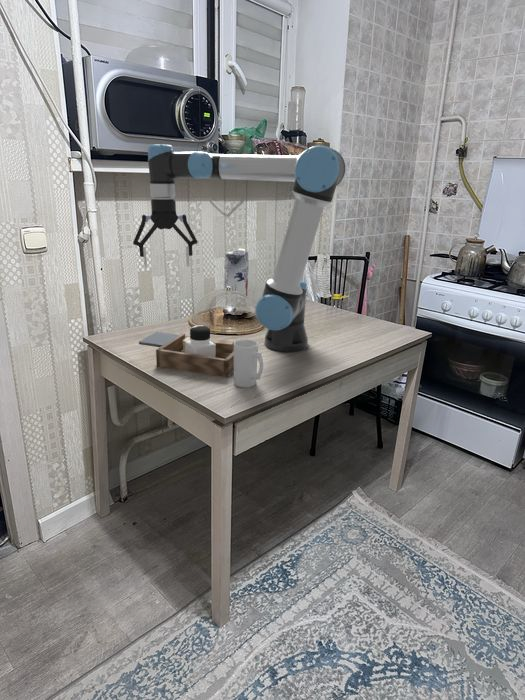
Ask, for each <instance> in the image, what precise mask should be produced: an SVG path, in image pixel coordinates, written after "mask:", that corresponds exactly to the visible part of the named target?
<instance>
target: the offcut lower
mask: <svg viewBox="0 0 525 700" xmlns="http://www.w3.org/2000/svg"><path fill="white" fill-rule="evenodd" d="M230 354H231V353H222V352H216V358H222V359H226V358H227V357H228V356H229V355H230Z"/></svg>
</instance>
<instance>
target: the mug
mask: <svg viewBox="0 0 525 700" xmlns="http://www.w3.org/2000/svg"><path fill="white" fill-rule="evenodd" d="M258 364H259V367H258ZM258 368H259V369H258ZM257 371H258V372H257ZM263 371H264V359H263V356H262V352H261V351H259V343H258V341H256V340H254V339H252V340H251V339H237V340H236V341H235V340H234V371H233V383H234V385H235V386H237V387H238V388H243V389H244V388H251V387H252V388H253V387H254V386H255V385H256V384H257V381H258V380H260V379H261V376H262V374H263Z"/></svg>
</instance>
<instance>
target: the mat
mask: <svg viewBox="0 0 525 700" xmlns="http://www.w3.org/2000/svg"><path fill="white" fill-rule="evenodd" d="M179 335H180V334H176V333H175V334H174V333H168V332H161V331H155V332H153V333H152V334H150V335H148V336H147V337H145V338H143V339H141V340H139V341H138V344H142V345H147V346H154V347H159V348H160V347H161V346H163V345H165V344H166V343H168V342H169V341H171V340H172V339H174V338H175V337H177V336H179ZM187 337H190V335H189V336H188V335H185V339H186V338H187Z"/></svg>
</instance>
